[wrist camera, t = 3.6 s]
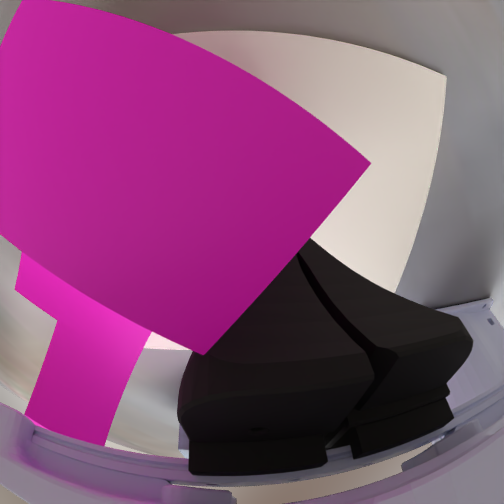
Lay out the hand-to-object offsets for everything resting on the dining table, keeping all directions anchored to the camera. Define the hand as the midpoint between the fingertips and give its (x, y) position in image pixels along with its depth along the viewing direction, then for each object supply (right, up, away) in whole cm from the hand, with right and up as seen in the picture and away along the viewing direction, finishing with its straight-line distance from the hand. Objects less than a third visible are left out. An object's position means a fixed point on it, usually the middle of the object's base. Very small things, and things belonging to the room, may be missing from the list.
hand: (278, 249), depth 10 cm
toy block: (-7, +1, +1) cm, 7 cm away
